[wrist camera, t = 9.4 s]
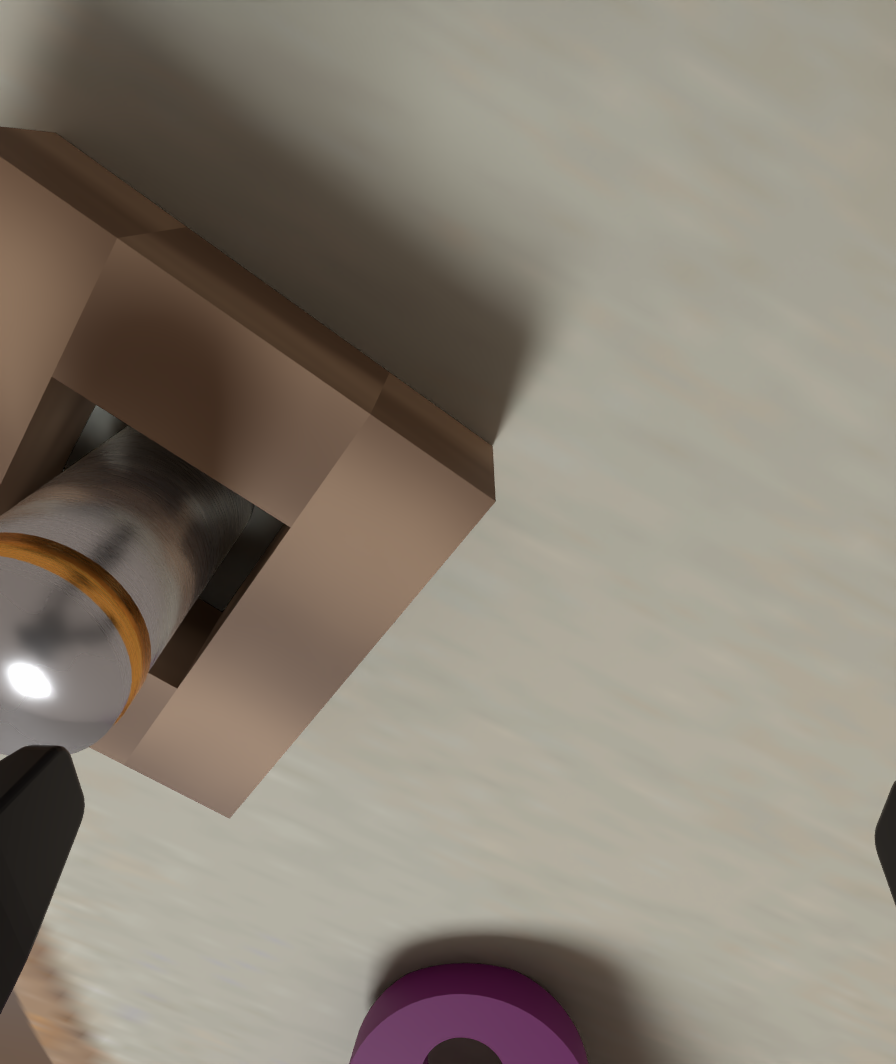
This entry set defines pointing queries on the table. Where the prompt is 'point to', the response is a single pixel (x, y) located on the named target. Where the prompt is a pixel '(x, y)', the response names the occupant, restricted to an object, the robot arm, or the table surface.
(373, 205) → the table surface
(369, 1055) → the mounting bracket
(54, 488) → the steel pin
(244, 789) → the socket block
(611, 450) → the table surface
